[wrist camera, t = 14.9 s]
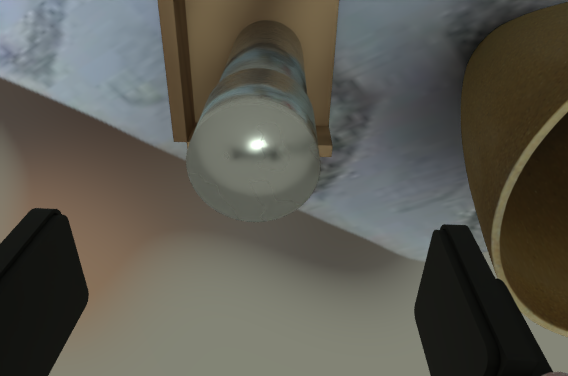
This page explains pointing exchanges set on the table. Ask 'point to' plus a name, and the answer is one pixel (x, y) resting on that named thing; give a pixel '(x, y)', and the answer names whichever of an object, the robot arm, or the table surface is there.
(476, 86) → the plant pot
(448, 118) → the table surface
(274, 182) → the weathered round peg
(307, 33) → the tray
